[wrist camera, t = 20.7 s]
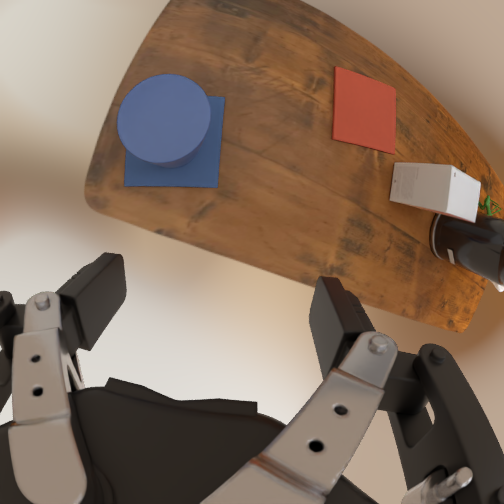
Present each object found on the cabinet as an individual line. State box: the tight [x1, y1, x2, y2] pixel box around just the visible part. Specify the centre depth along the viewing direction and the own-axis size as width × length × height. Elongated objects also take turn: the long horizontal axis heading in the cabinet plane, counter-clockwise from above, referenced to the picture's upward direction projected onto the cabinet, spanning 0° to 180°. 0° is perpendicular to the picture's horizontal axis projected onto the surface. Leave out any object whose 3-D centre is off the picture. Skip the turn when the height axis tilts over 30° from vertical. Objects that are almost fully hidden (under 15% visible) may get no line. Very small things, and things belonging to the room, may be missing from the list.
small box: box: [390, 162, 481, 223], centre depth 30 cm, size 8×6×10 cm
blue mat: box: [124, 96, 225, 188], centre depth 26 cm, size 10×10×1 cm
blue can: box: [117, 74, 211, 168], centre depth 20 cm, size 6×6×12 cm
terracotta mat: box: [332, 66, 396, 154], centre depth 30 cm, size 10×10×1 cm
